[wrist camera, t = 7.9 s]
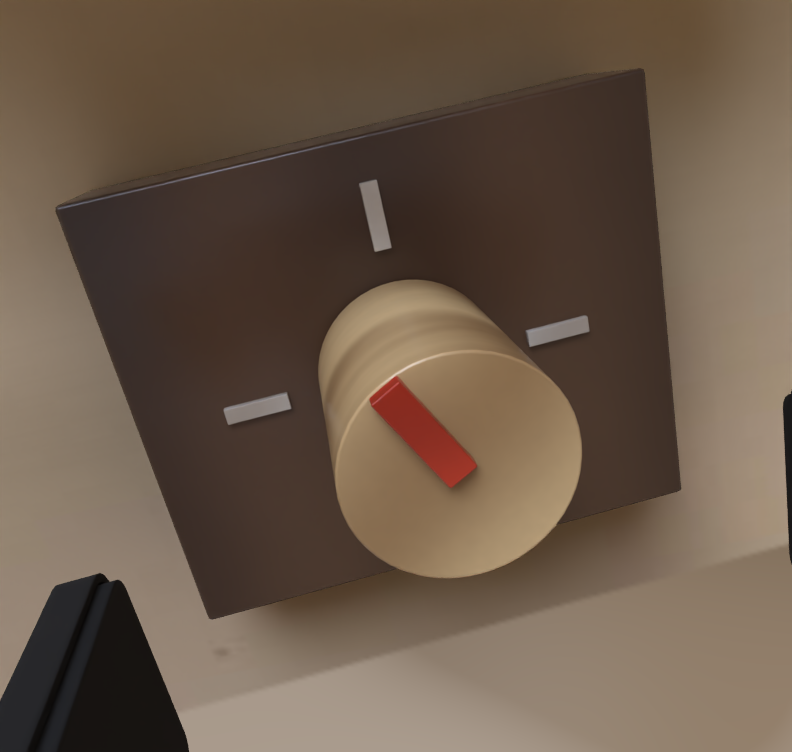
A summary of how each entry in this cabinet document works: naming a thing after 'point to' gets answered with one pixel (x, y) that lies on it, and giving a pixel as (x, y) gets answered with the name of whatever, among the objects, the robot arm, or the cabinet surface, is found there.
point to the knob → (442, 433)
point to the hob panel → (355, 275)
